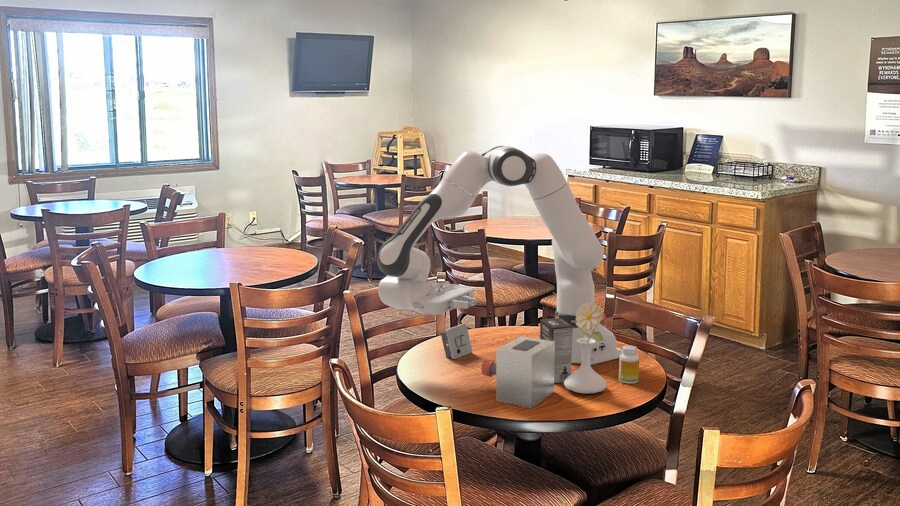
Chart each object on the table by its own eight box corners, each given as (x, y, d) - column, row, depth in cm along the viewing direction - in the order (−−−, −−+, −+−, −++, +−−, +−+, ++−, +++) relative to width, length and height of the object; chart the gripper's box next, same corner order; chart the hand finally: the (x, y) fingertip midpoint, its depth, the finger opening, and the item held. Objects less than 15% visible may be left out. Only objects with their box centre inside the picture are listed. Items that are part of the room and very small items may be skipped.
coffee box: (538, 373, 238) (539, 318, 235) (558, 371, 240) (560, 317, 237) (551, 383, 230) (552, 327, 227) (572, 381, 232) (573, 325, 229)
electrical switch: (454, 360, 250) (451, 330, 249) (440, 359, 253) (438, 329, 252) (473, 353, 257) (470, 323, 256) (459, 351, 261) (457, 322, 259)
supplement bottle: (641, 383, 230) (642, 349, 228) (622, 384, 229) (624, 350, 227) (634, 377, 235) (635, 343, 233) (615, 378, 234) (617, 344, 232)
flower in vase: (556, 385, 228) (558, 296, 223) (592, 380, 232) (595, 293, 227) (580, 402, 216) (582, 308, 211) (618, 396, 220) (621, 304, 215)
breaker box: (496, 401, 217) (496, 348, 214) (520, 385, 228) (520, 335, 226) (531, 408, 212) (531, 354, 209) (553, 391, 223) (554, 340, 221)
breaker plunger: (481, 377, 224) (481, 361, 223) (489, 372, 227) (489, 357, 226) (516, 384, 218) (516, 368, 217) (524, 379, 222) (524, 363, 221)
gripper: (408, 294, 226) (452, 300, 219) (447, 279, 243) (489, 285, 236) (408, 316, 227) (452, 323, 220) (447, 300, 245) (489, 307, 238)
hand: (471, 303), depth 228 cm, fingers open, 2 cm apart
